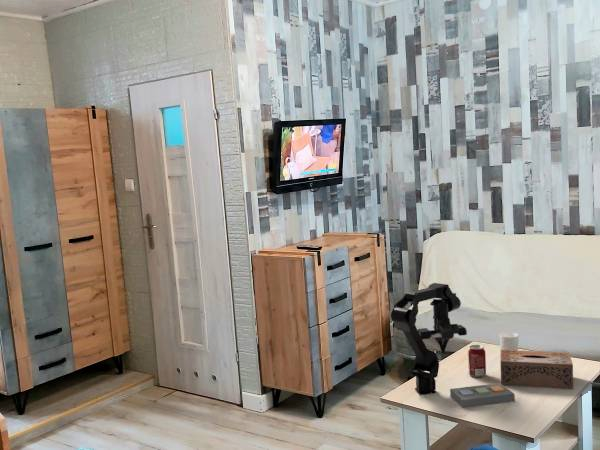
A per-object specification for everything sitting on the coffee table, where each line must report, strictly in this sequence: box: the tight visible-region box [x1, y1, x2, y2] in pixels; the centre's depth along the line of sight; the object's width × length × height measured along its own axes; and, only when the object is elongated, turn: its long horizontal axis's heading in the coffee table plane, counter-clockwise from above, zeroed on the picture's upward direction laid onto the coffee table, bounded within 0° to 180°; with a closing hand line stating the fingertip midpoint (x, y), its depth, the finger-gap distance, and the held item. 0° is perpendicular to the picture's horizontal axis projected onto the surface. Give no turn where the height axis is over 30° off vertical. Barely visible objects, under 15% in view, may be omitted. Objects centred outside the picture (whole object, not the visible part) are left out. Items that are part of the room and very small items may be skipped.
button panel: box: [449, 382, 516, 409], centre depth 223 cm, size 20×11×3 cm, turn 99°
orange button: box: [489, 386, 505, 392], centre depth 224 cm, size 4×4×3 cm
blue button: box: [459, 389, 474, 396], centre depth 223 cm, size 4×4×3 cm
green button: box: [474, 388, 489, 394], centre depth 223 cm, size 4×4×3 cm
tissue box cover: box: [499, 349, 574, 391], centre depth 238 cm, size 26×14×10 cm, turn 72°
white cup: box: [499, 331, 519, 351], centre depth 267 cm, size 8×8×10 cm
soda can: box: [467, 344, 487, 378], centre depth 247 cm, size 7×7×12 cm
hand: (442, 352), depth 241 cm, fingers closed
